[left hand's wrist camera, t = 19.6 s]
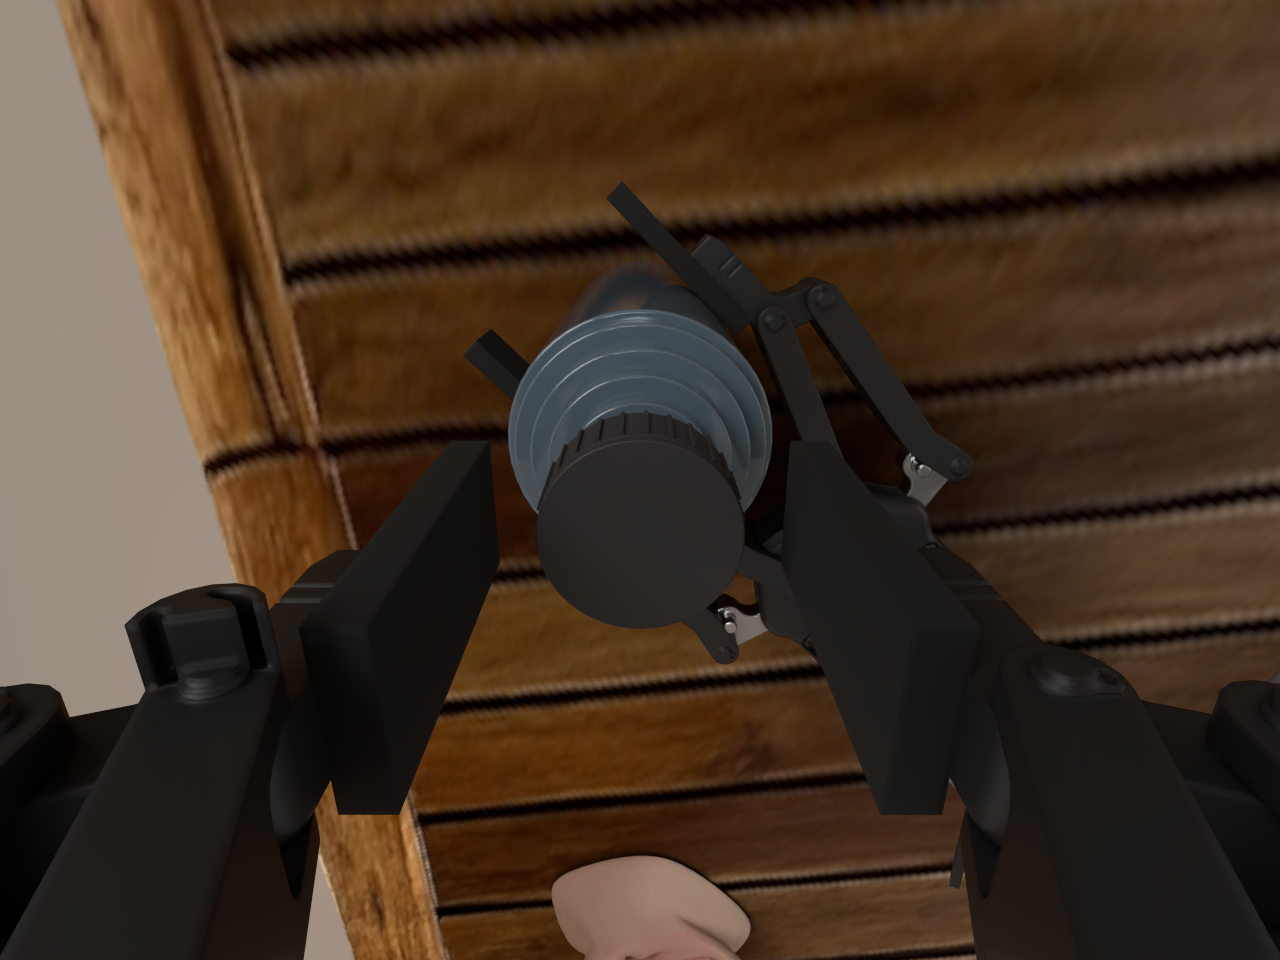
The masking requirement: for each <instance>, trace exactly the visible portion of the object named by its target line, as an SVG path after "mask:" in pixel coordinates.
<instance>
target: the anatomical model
mask: <svg viewBox="0 0 1280 960" xmlns="http://www.w3.org/2000/svg"><path fill="white" fill-rule="evenodd" d="M552 900H553V905H554V909H555V912H556V916H557V919H558V922H559V925H560V927H561V929H562V931H563V933H564V934H565V936H566V938H567V940H568V941H569V943H570V944H571V945H572V946H573V947H574V948H575V949H576V950H578V951H579V952H581V953H583V954H585V960H741V959H740V958H739V957H738V956H737V955H736V954H735V952H736V951H737V950H738V949H739V948H740V947H741V946H742V945H743V944H744V942H745V941H746V939H747V938H748V936H749V933H750V922H749V919H748V918H747V916H746V915H745V913H744V912H743V911H742V910H741V909H740V907H739V906H738V905H737V904H736V903H735V902H734V901H733V900H731V899H730V898H729V897H728V896H727V895H726V894H724V893H723V892H722V891H721V890H720V889H718V888H717V887H716V886H714V885H713V884H711V883H710V882H709V881H707V880H706V879H705V878H703V877H702V876H700V875H699V874H697V873H695V872H694V871H692V870H690V869H689V868H687V867H685V866H683V865H681V864H679V863H677V862H674V861H672V860H669V859H665V858H661V857H657V856H629V857H621V858H615V859H610V860H606V861H602V862H597V863H594V864H591V865H587V866H584V867H581V868H578V869H576V870H573V871H571V872H568V873H566V874H564V875H563V876H561V877H560V878H559V879H557V880H556V882H555V883H554V885H553V888H552Z"/></svg>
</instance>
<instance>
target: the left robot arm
mask: <svg viewBox="0 0 1280 960" xmlns="http://www.w3.org/2000/svg"><path fill="white" fill-rule="evenodd" d="M499 563H500V559H499V548H498V536H497V524H496V512H495V500H494V488H493V476H492V464H491V453H490V441H451V442H450V443H449V444H448V445H447V447H446V448H445V449H444V450H443V452H442V453H441V454H440V455H439V456H438V458H437V459H436V460H435V461H434V463H433V464H432V465H431V466H430V467H429V469H428V470H427V471H426V472H425V474H424V475H423V476H422V477H421V478H420V480H419V481H418V482H417V483H416V485H415V486H414V487H413V488H412V489H411V491H410V492H409V493H408V494H407V496H406V497H405V498H404V499H403V500H402V502H401V503H400V504H399V505H398V507H397V508H396V509H395V510H394V511H393V513H392V514H391V515H390V516H389V518H388V519H387V520H386V521H385V522H384V524H383V525H382V526H381V527H380V529H379V530H378V531H377V532H376V533H375V535H374V536H373V537H372V538H371V540H370V541H369V542H368V543H367V544H366V546H365V547H364V548H363V549H362V550H337V551H336V552H334V553H332V554H330V555H329V556H327V557H325V558H323V559H322V560H320V561H318V562H316V563H315V564H313V565H311V566H310V567H309V568H308V569H307V570H306V571H305V572H304V573H303V575H302V576H301V577H300V578H299V579H298V580H297V581H296V582H295V583H294V587H293V588H290V589H289V590H288V591H287V592H286V593H285V594H284V595H283V596H282V597H281V598H280V602H279V603H276V604H275V605H274V606H273V607H272V608H271V609H270V610H269V609H268V605H267V600H266V596H265V593H263V592H262V591H260V590H259V589H258V588H256V587H255V586H249V585H244V584H238V583H231V584H212V585H208V586H203V587H198V588H194V589H189V590H185V591H182V592H180V593H177V594H174V595H171V596H169V597H166V598H163V599H160V600H159V601H157V602H155V603H153V604H151V605H150V606H148V607H146V608H144V609H142V610H141V611H139V612H138V613H137V614H136V615H135V616H134V617H132V618H131V619H130V620H129V621H128V622H127V623H126V624H125V628H126V631H127V635H128V638H129V641H130V644H131V647H132V650H133V653H134V656H135V659H136V663H137V666H138V669H139V672H140V675H141V678H142V681H143V684H144V687H145V692H144V694H143V696H142V698H141V700H140V702H139V703H138V704H134V705H130V706H125V707H120V708H115V709H110V710H105V711H99V712H94V713H89V714H84V715H79V716H74V717H69V715H68V712H67V709H66V707H65V704H64V701H63V699H62V696H61V694H60V693H59V692H58V691H57V690H55V689H54V688H52V687H51V686H49V685H40V684H21V685H14V686H7V687H0V960H303V959H304V952H305V945H306V938H307V931H308V924H309V916H310V909H311V902H312V895H313V888H314V881H315V873H316V866H317V859H318V852H319V845H320V835H319V828H318V823H317V818H316V814H315V808H316V806H317V804H318V803H319V801H320V799H321V797H322V795H323V793H324V792H325V790H326V788H327V786H328V784H329V782H330V781H331V783H332V787H333V792H334V797H335V801H336V806H337V811H338V815H399V814H400V812H401V809H402V807H403V804H404V802H405V799H406V797H407V794H408V792H409V789H410V787H411V784H412V781H413V779H414V776H415V774H416V771H417V769H418V766H419V764H420V761H421V759H422V756H423V754H424V751H425V749H426V746H427V744H428V741H429V739H430V736H431V734H432V731H433V729H434V726H435V724H436V721H437V719H438V716H439V714H440V711H441V709H442V706H443V704H444V701H445V699H446V696H447V694H448V691H449V689H450V686H451V684H452V681H453V679H454V676H455V674H456V671H457V669H458V666H459V663H460V661H461V658H462V656H463V653H464V651H465V648H466V646H467V643H468V641H469V638H470V636H471V633H472V631H473V628H474V626H475V623H476V621H477V618H478V616H479V613H480V611H481V608H482V606H483V603H484V601H485V598H486V596H487V593H488V591H489V588H490V586H491V583H492V581H493V578H494V576H495V573H496V571H497V568H498V566H499ZM780 563H781V566H782V568H783V571H784V573H785V576H786V578H787V581H788V583H789V586H790V588H791V591H792V593H793V596H794V598H795V601H796V603H797V606H798V608H799V611H800V613H801V616H802V618H803V621H804V623H805V626H806V628H807V631H808V633H809V636H810V638H811V641H812V643H813V646H814V648H815V651H816V653H817V656H818V658H819V661H820V663H821V666H822V668H823V671H824V674H825V676H826V679H827V681H828V684H829V686H830V689H831V691H832V694H833V696H834V699H835V701H836V704H837V706H838V709H839V711H840V714H841V716H842V719H843V721H844V724H845V726H846V729H847V731H848V734H849V736H850V739H851V741H852V744H853V746H854V749H855V751H856V754H857V756H858V759H859V761H860V764H861V766H862V769H863V771H864V774H865V776H866V779H867V781H868V784H869V786H870V789H871V792H872V794H873V797H874V799H875V802H876V804H877V807H878V809H879V812H880V814H881V815H942V811H943V806H944V802H945V797H946V792H947V787H948V783H949V778H950V779H951V781H952V782H953V784H954V786H955V788H956V790H957V792H958V793H959V795H960V797H961V799H962V801H963V802H964V804H965V806H966V809H965V814H964V818H963V823H962V827H961V831H960V836H959V840H958V844H957V849H956V853H955V857H954V862H953V866H952V870H951V878H950V885H949V886H951V887H955V888H960V883H961V879H962V875H963V873H964V872H965V879H966V886H967V893H968V900H969V907H970V915H971V922H972V929H973V936H974V943H975V950H976V957H977V960H1280V683H1270V682H1263V681H1256V680H1249V681H1238V682H1231V683H1230V684H1229V685H1227V686H1226V687H1224V688H1223V689H1221V691H1220V694H1219V696H1218V699H1217V701H1216V704H1215V707H1214V709H1213V712H1212V714H1208V713H1203V712H1198V711H1192V710H1187V709H1182V708H1177V707H1172V706H1167V705H1162V704H1156V703H1151V702H1147V701H1143V700H1140V698H1139V696H1138V695H1137V693H1136V691H1135V689H1134V688H1133V687H1132V686H1131V685H1130V684H1129V682H1128V681H1127V680H1126V679H1125V678H1124V677H1123V675H1122V674H1120V673H1119V672H1117V671H1116V670H1114V669H1113V668H1111V667H1110V666H1108V665H1107V664H1105V663H1104V662H1102V661H1100V660H1098V659H1095V658H1093V657H1091V656H1088V655H1086V654H1084V653H1081V652H1079V651H1076V650H1072V649H1068V648H1064V647H1060V646H1056V645H1052V644H1045V643H1044V642H1043V641H1042V640H1041V639H1040V638H1039V637H1038V636H1037V635H1036V634H1035V633H1034V631H1033V630H1032V629H1031V628H1030V627H1029V626H1028V625H1027V624H1026V623H1025V622H1024V621H1023V620H1022V619H1021V618H1020V617H1019V615H1018V614H1017V613H1016V612H1015V611H1014V610H1013V609H1012V608H1011V607H1010V606H1009V605H1008V604H1007V603H1006V602H1005V601H1001V596H1000V595H999V594H998V593H997V592H996V591H995V590H994V589H993V588H992V587H991V585H987V581H986V580H985V579H984V578H983V577H982V576H981V575H980V574H979V573H978V572H977V570H976V569H975V568H974V567H973V566H972V565H971V564H970V563H968V562H967V561H965V560H963V559H961V558H959V557H958V556H956V555H954V554H952V553H951V552H949V551H947V550H945V549H944V548H916V547H915V546H914V544H913V543H912V542H911V541H910V540H909V538H908V537H907V536H906V535H905V533H904V532H903V531H902V530H901V529H900V527H899V526H898V525H897V524H896V522H895V521H894V520H893V519H892V518H891V516H890V515H889V514H888V513H887V511H886V510H885V509H884V508H883V507H882V505H881V504H880V503H879V502H878V500H877V499H876V498H875V497H874V496H873V494H872V493H871V492H870V491H869V489H868V488H867V487H866V486H865V485H864V483H863V482H862V481H861V480H860V478H859V477H858V476H857V475H856V474H855V472H854V471H853V470H852V469H851V467H850V466H849V465H848V464H847V463H846V461H845V460H844V459H843V458H842V456H841V455H840V454H839V453H838V452H837V450H836V449H835V448H834V447H833V445H832V444H831V443H830V442H829V441H790V453H789V465H788V476H787V488H786V500H785V512H784V524H783V536H782V548H781V560H780Z"/></svg>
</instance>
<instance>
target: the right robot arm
mask: <svg viewBox="0 0 1280 960" xmlns="http://www.w3.org/2000/svg"><path fill="white" fill-rule="evenodd" d="M606 199H607V200H608V201H609V202H610V203H611V204H612V205H613V206H614V207H615V208H616V209H617V210H618V211H619V212H620V214H621V215H622V216H623V217H624V218H625V219H626V220H627V221H628V222H629V223H630V224H631V225H632V226H633V227H634V228H635V230H636V231H637V232H638V233H639V234H640V235H641V236H642V237H643V238H644V239H645V240H646V241H647V242H648V243H649V244H650V246H651V247H652V248H653V249H654V250H655V251H656V252H657V253H658V254H659V255H660V256H661V257H662V258H663V259H664V260H665V262H666V263H667V264H668V265H669V266H670V267H671V268H672V269H673V270H674V271H675V272H676V273H677V274H678V275H679V277H680V278H681V279H682V280H683V281H684V282H685V283H686V284H687V285H688V286H689V287H690V288H691V289H692V290H693V291H694V293H695V294H696V295H697V296H698V297H699V298H700V299H701V300H702V301H703V302H704V303H705V304H706V305H707V306H708V307H709V309H710V310H711V311H712V312H713V313H714V314H715V315H716V316H717V317H718V318H719V319H720V320H721V321H722V322H723V323H724V325H725V326H726V327H727V328H728V329H729V330H730V331H731V332H732V333H733V334H734V335H735V336H736V335H737V334H738V333H739V332H740V331H741V330H742V329H743V328H744V327H745V326H746V325H748V324H749V323H750V324H751V327H752V329H753V332H754V334H755V337H756V339H757V342H758V344H759V347H760V349H761V352H762V354H763V357H764V359H765V362H766V364H767V367H768V369H769V372H770V374H771V377H772V379H773V382H774V384H775V387H776V389H777V392H778V394H779V397H780V399H781V402H782V404H783V407H784V409H785V412H786V414H787V417H788V419H789V422H790V424H791V427H792V429H793V432H794V434H795V437H796V439H797V441H829V442H830V443H831V444H832V445H833V447H834V448H835V449H836V450H837V452H838V453H839V454H840V455H841V456H842V453H841V450H840V448H839V445H838V442H837V440H836V437H835V434H834V432H833V429H832V426H831V424H830V421H829V418H828V416H827V413H826V411H825V408H824V405H823V403H822V400H821V397H820V395H819V392H818V389H817V387H816V384H815V381H814V379H813V376H812V374H811V371H810V368H809V366H808V363H807V360H806V358H805V355H804V352H803V350H802V347H801V344H800V342H799V339H798V336H797V334H796V331H795V329H794V328H796V327H799V326H801V325H803V324H805V323H807V322H810V323H811V325H812V326H813V328H814V329H815V330H816V332H817V333H818V335H819V336H820V338H821V339H822V340H823V342H824V343H825V345H826V346H827V348H828V349H829V350H830V352H831V353H832V355H833V356H834V358H835V359H836V360H837V362H838V363H839V365H840V366H841V368H842V369H843V370H844V372H845V373H846V375H847V376H848V378H849V379H850V380H851V382H852V383H853V385H854V386H855V388H856V389H857V391H858V392H859V393H860V395H861V396H862V398H863V399H864V401H865V402H866V403H867V405H868V406H869V408H870V409H871V411H872V412H873V413H874V415H875V416H876V418H877V419H878V421H879V422H880V423H881V425H882V426H883V427H884V429H885V430H886V431H887V432H888V433H889V434H890V435H891V436H892V437H893V438H894V439H895V440H896V441H897V442H898V443H899V444H900V445H902V446H900V447H899V448H898V450H897V454H896V457H895V462H896V464H897V466H898V467H899V468H900V469H901V471H902V473H903V481H902V484H901V485H900V487H899V486H892V485H886V484H879V483H873V482H866V481H862V482H863V483H864V485H865V486H866V487H867V488H868V489H869V491H870V492H871V493H872V494H873V496H874V497H875V498H876V499H877V500H878V502H879V503H880V504H881V505H882V507H883V508H884V509H885V510H886V511H887V513H888V514H889V515H890V516H891V518H892V519H893V520H894V521H895V522H896V524H897V525H898V526H899V527H900V529H901V530H902V531H903V532H904V533H905V535H906V536H907V537H908V538H909V540H910V541H911V542H912V543H913V544H914V546H915V547H916V548H944V549H945V550H947V551H949V549H948V548H947V547H946V546H945V545H944V544H943V543H942V542H941V541H940V540H939V539H938V538H937V537H936V535H935V534H934V533H933V531H932V529H931V526H930V521H929V514H928V511H927V509H926V506H927V504H928V503H929V502H930V501H931V499H932V498H933V497H934V496H935V495H936V493H937V492H938V491H939V490H940V489H941V487H942V486H943V485H944V484H945V483H946V481H947V480H951V481H953V482H956V481H962V480H964V479H966V478H967V477H968V476H970V474H971V473H972V471H973V468H974V462H973V459H972V458H971V457H970V456H969V455H968V454H967V453H965V452H964V451H963V450H961V449H960V448H959V447H957V446H956V445H954V444H953V443H952V442H950V441H949V440H948V439H946V438H945V437H944V436H942V435H941V434H939V433H938V432H936V431H935V430H933V429H932V428H931V426H930V425H929V423H928V422H927V420H926V419H925V417H924V416H923V414H922V413H921V411H920V410H919V408H918V407H917V405H916V404H915V402H914V401H913V399H912V398H911V396H910V395H909V393H908V392H907V390H906V389H905V388H904V386H903V385H902V383H901V382H900V380H899V379H898V377H897V376H896V374H895V373H894V371H893V370H892V368H891V367H890V365H889V364H888V362H887V361H886V359H885V358H884V356H883V355H882V353H881V352H880V350H879V349H878V347H877V346H876V344H875V343H874V341H873V340H872V338H871V337H870V335H869V334H868V332H867V331H866V329H865V328H864V326H863V325H862V323H861V322H860V321H859V319H858V318H857V316H856V315H855V313H854V312H853V310H852V309H851V307H850V306H849V304H848V303H847V301H846V300H845V298H844V297H843V295H842V294H841V292H840V291H839V289H838V288H837V287H836V286H834V285H833V284H830V283H828V282H825V281H823V280H820V279H817V278H814V277H806V278H804V279H802V280H800V281H799V282H798V284H796V285H794V286H792V287H789V288H787V289H785V290H782V291H779V292H771V291H768V290H767V289H766V288H765V287H764V286H763V285H762V284H761V283H760V282H759V281H758V279H757V278H756V277H755V276H754V275H753V274H752V273H751V272H750V271H749V269H748V268H747V267H746V266H745V265H744V264H743V263H742V262H741V260H740V259H739V258H738V257H737V256H736V255H735V254H734V253H733V252H732V250H731V249H730V248H729V247H728V246H727V245H726V244H725V243H724V242H723V241H721V240H719V239H717V238H715V237H713V236H710V235H708V234H706V235H705V236H704V237H703V238H702V239H701V240H700V241H699V242H698V243H697V244H696V245H695V246H694V247H693V248H692V249H691V250H690V251H689V252H687V251H686V250H685V249H684V248H683V247H682V246H681V245H680V244H679V243H678V242H677V241H676V239H675V238H674V237H673V236H672V235H671V234H670V233H669V232H668V231H667V230H666V229H665V227H664V226H663V225H662V224H661V223H660V222H659V221H658V220H657V219H656V218H655V217H654V216H653V214H652V213H651V212H650V211H649V210H648V209H647V208H646V207H645V206H644V205H643V204H642V203H641V201H640V200H639V199H638V198H637V197H636V196H635V195H634V194H633V193H632V192H631V191H630V190H629V188H628V187H627V186H626V185H625V184H624V183H623V182H621V183H620V184H619V185H618V186H617V187H616V188H615V189H614V190H613V192H612V193H611V194H610V195H609V196H608V197H607V198H606ZM463 356H464V357H465V358H466V359H467V360H469V361H470V362H471V363H472V364H473V365H474V366H475V367H476V368H477V369H478V370H480V371H481V372H482V373H483V374H484V375H485V376H486V377H487V378H488V379H489V380H490V381H492V382H493V383H494V384H495V385H496V386H497V387H498V388H499V389H500V390H501V391H502V392H504V393H505V394H506V395H507V396H508V397H509V398H510V399H511V400H512V401H513V399H514V396H515V394H516V391H517V389H518V386H519V384H520V381H521V380H522V378H523V376H524V374H525V373H526V371H527V369H528V368H529V366H530V365H529V364H528V363H527V362H526V361H525V360H524V359H523V358H522V357H521V356H520V355H519V354H517V353H516V352H515V351H514V350H513V349H512V348H511V347H510V346H509V345H508V344H507V343H506V342H505V341H504V340H503V339H502V338H500V337H499V336H498V335H497V334H496V333H495V332H494V331H493V330H492V329H491V330H489V331H488V332H487V333H486V334H484V335H483V336H482V337H481V338H479V339H478V340H477V341H476V342H475V343H474V344H473V345H472V346H471V347H470V348H469V349H468V351H467V352H466V353H465V354H464V355H463ZM842 458H843V456H842ZM843 459H844V458H843ZM784 512H785V504H784V505H783V506H781V507H779V508H777V509H775V510H773V511H771V512H769V513H767V514H766V515H765V516H764V517H763V518H761V519H760V520H759V521H758V522H756V521H753V520H751V519H749V518H747V517H745V519H746V521H744V522H745V545H744V551H743V555H742V559H741V562H740V565H739V567H738V570H737V572H736V573H738V574H740V575H743V576H745V577H747V578H750V579H752V580H754V586H755V595H756V603H755V604H752V605H743V604H741V603H739V602H738V601H737V600H736V599H735V598H733V597H730V596H729V595H727V594H722V595H720V596H719V597H718V598H717V599H716V600H715V601H714V602H713V603H712V604H710V605H709V606H708V607H706V608H705V609H704V610H702V611H700V612H699V613H697V614H695V615H694V616H692V617H690V618H687V619H685V620H683V621H681V622H682V623H683V624H685V625H686V626H688V627H689V628H691V629H692V630H693V631H695V633H696V634H697V636H698V637H699V639H700V640H701V641H702V643H703V644H704V646H705V647H706V649H707V650H708V652H709V653H710V655H711V656H712V658H713V659H714V660H715V661H716V662H717V663H720V664H730V663H732V662H734V661H735V660H736V659H737V657H738V656H739V649H738V645H740V644H742V643H744V642H746V641H748V640H750V639H752V638H754V637H756V636H758V635H760V634H762V633H764V632H766V631H770V632H771V633H773V634H775V635H777V636H781V637H785V638H789V639H791V640H794V641H796V642H797V643H799V644H800V645H801V646H802V647H803V648H804V649H805V650H806V651H807V652H808V653H809V654H810V655H811V656H812V657H814V658H815V659H816V660H817V661H818V662H819V663H820V661H819V658H818V656H817V653H816V651H815V648H814V646H813V643H812V641H811V638H810V636H809V633H808V631H807V628H806V626H805V623H804V621H803V618H802V616H801V613H800V611H799V608H798V606H797V603H796V601H795V598H794V596H793V593H792V591H791V588H790V586H789V583H788V581H787V578H786V576H785V573H784V571H783V568H782V566H781V563H780V560H781V548H782V536H783V524H784ZM949 552H950V551H949ZM820 664H821V663H820ZM1269 682H1270V683H1280V670H1279V671H1278V672H1277V673H1276V674H1275V675H1274V677H1273V678H1272V679H1271V680H1270V681H1269ZM949 783H950V784H951V785H952V786H953V787H954V788H955V786H954V784H953V782H952V781H951V779H950V778H949ZM955 789H956V788H955Z"/></svg>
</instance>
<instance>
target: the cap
mask: <svg viewBox="0 0 1280 960" xmlns="http://www.w3.org/2000/svg"><path fill="white" fill-rule="evenodd" d="M740 499H742V498H741V495H740V492H739V490H738V487H737V484H736V481H735V478H734V475H733V472H732V471H729V468H728V465H727V462H726V459H725V456H724V454H723V452H721V453H719V452H718V450H717V449H716V448H715V446H714V445H713V444H712V442H711V438H710V437H709V436H708V435H707V436H706V437H705V436H704V435H702V434H701V433H700V432H699V431H697V430H696V429H694V428H693V425H692V424H691V423H688V424H686V423H684V422H681V421H679V420H677V419H675V418H672V416H671V415H670V414H667V416H664V415H659V414H653V413H648V410H644V413H628V414H625V411H624V412H621V414H620V415H617V416H613V417H610V418H607V419H604V420H603V418H600V419H598V422H597V423H595V424H593V425H591V426H590V427H588V428H587V429H585V430H583V429H580V430H579V432H578V435H577V436H576V437H575V438H574V439H573V440H572V441H571V442H570V443H569V444H568V445H567V444H566V443H565V444H564V445H563V448H562V451H561V454H560V456H559V458H558V459H557V461H556V462H554V461H553V463H552V465H551V468H550V470H549V473H548V476H547V479H546V482H545V485H544V488H543V491H542V494H541V497H540V500H539V503H538V506H537V510H539V513H538V516H537V523H536V528H535V531H536V545H537V551H538V556H539V559H540V562H541V565H542V568H543V570H544V572H545V574H546V576H547V578H548V579H549V581H550V582H551V584H552V585H553V587H554V588H555V589H556V590H557V592H558V593H559V594H560V595H561V596H562V597H563V598H564V599H565V600H566V601H567V602H568V603H569V604H571V605H572V606H573V607H575V608H576V609H577V610H579V611H580V612H582V613H584V614H586V615H587V616H589V617H591V618H593V619H596V620H598V621H601V622H603V623H606V624H610V625H614V626H618V627H625V628H636V629H646V628H657V627H662V626H667V625H671V624H674V623H677V622H681V621H683V620H685V619H687V618H690V617H692V616H694V615H695V614H697V613H699V612H700V611H702V610H704V609H705V608H706V607H708V606H709V605H710V604H712V603H713V602H714V601H715V600H716V599H717V598H718V597H719V596H720V595H721V594H722V593H723V592H724V590H725V589H726V588H727V586H728V585H729V584H730V582H731V581H732V579H733V577H734V576H735V574H736V572H737V570H738V567H739V565H740V562H741V559H742V555H743V551H744V545H745V522H744V521H746V519H745V515H744V512H743V509H742V506H741V503H740Z"/></svg>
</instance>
